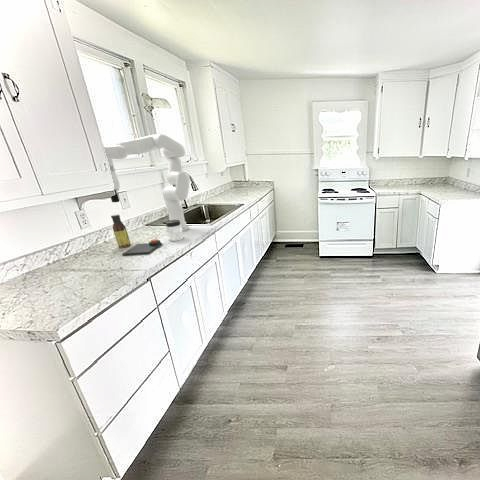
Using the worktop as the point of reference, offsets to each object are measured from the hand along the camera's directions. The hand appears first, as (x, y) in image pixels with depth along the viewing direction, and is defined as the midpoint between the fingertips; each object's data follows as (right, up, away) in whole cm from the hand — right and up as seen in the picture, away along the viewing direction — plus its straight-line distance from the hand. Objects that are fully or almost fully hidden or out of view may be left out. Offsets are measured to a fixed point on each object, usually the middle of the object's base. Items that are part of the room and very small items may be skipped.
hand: (115, 201), depth 152 cm
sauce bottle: (-2, -26, +9) cm, 28 cm away
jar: (+24, -22, +21) cm, 38 cm away
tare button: (+18, -24, +7) cm, 31 cm away
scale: (+14, -28, +2) cm, 32 cm away
